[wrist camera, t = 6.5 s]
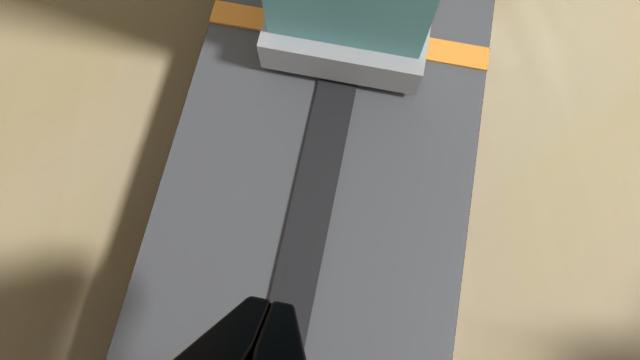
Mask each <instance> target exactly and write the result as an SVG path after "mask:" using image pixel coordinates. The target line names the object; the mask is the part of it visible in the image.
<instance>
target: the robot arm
mask: <svg viewBox="0 0 640 360" xmlns="http://www.w3.org/2000/svg"><path fill="white" fill-rule="evenodd" d="M173 360H307V359H306V355H305V350H304V346H303V341H302V337H301V332H300V328H299V323H298V318H297V314H296V309H295V307H294V305H292V304H289V303H284V302H279V301H273V302H272V303H271V301H270V300H269V299H265V298H260V297H255V296H249V297H247V298H246V299H245V300H244V301H242V302H241V303H240V304H239V305H238V306H236V307H235V308H234V309H233V310H232V311H230V312H229V313H228V314H227V315H226V316H224V317H223V318H222V319H221V320H220V321H218V322H217V323H216V324H215V325H214V326H212V327H211V328H210V329H209V330H208V331H206V332H205V333H204V334H203V335H202V336H200V337H199V338H198V339H197V340H196V341H194V342H193V343H192V344H191V345H189V346H188V347H187V348H186V349H185V350H183V351H182V352H181V353H180V354H179V355H177V356H176V357H175V358H174V359H173Z"/></svg>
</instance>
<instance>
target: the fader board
mask: <svg viewBox="0 0 640 360" xmlns="http://www.w3.org/2000/svg"><path fill="white" fill-rule="evenodd" d="M494 3H495V0H440V3H439V5H438V8H437V11H436V13H435V16H434V19H433V22H432V24H431V31H430V37H429V43H428V50H427V56H426V62H425V68H424V75H423V78H422V80H421V83H420V85H419V88H418V90H417V93H416V95H410V94H405V93H399V92H394V91H388V90H383V89H377V88H372V87H366V86H361V85H355V84H350V83H344V82H339V81H333V80H328V79H322V78H317V77H311V76H306V75H300V74H295V73H289V72H284V71H278V70H273V69H267V68H262V67H261V64H260V60H259V55H258V51H257V42H258V39H259V35H260V31H261V28H262V24H263V20H264V11H263V5H262V0H215V3H214V6H213V9H212V13H211V16H210V19H209V22H210V23H209V26H208V29H207V33H206V36H205V39H204V42H203V46H202V49H201V52H200V55H199V59H198V62H197V65H196V68H195V72H194V75H193V78H192V81H191V85H190V88H189V91H188V94H187V98H186V101H185V104H184V107H183V110H182V114H181V117H180V120H179V123H178V127H177V130H176V133H175V136H174V140H173V143H172V146H171V149H170V153H169V156H168V159H167V162H166V166H165V169H164V172H163V175H162V179H161V182H160V185H159V188H158V191H157V195H156V198H155V201H154V204H153V208H152V211H151V214H150V217H149V221H148V224H147V227H146V230H145V234H144V237H143V240H142V243H141V247H140V250H139V253H138V256H137V260H136V263H135V266H134V269H133V272H132V276H131V279H130V282H129V285H128V289H127V292H126V295H125V298H124V302H123V305H122V308H121V311H120V315H119V318H118V321H117V324H116V328H115V331H114V334H113V337H112V341H111V344H110V347H109V350H108V353H107V357H106V360H173V359H174V358H175V357H176V356H177V355H179V354H180V353H181V352H182V351H183V350H185V349H186V348H187V347H188V346H189V345H191V344H192V343H193V342H194V341H196V340H197V339H198V338H199V337H200V336H202V335H203V334H204V333H205V332H206V331H208V330H209V329H210V328H211V327H212V326H214V325H215V324H216V323H217V322H218V321H220V320H221V319H222V318H223V317H224V316H226V315H227V314H228V313H229V312H230V311H232V310H233V309H234V308H235V307H236V306H238V305H239V304H240V303H241V302H242V301H244V300H245V299H246V298H247V297H249V296H255V297H260V298H265V299H269V300H270V301H271V303H272V302H273V301H279V302H284V303H289V304H292V305H294V307H295V309H296V314H297V318H298V323H299V328H300V332H301V337H302V341H303V346H304V350H305V355H306V359H307V360H452V359H453V350H454V342H455V333H456V325H457V316H458V308H459V299H460V291H461V282H462V274H463V266H464V257H465V249H466V240H467V232H468V223H469V215H470V206H471V198H472V189H473V181H474V173H475V164H476V156H477V147H478V139H479V130H480V122H481V113H482V105H483V96H484V88H485V80H486V71H487V70H488V61H489V53H490V48H489V46H490V37H491V29H492V20H493V12H494Z"/></svg>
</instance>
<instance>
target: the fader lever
mask: <svg viewBox="0 0 640 360" xmlns="http://www.w3.org/2000/svg"><path fill="white" fill-rule="evenodd" d="M439 3H440V0H262V5H263V11H264V20H263V24H262V28H261V31H260V35H259V39H258V42H257V51H258V55H259V60H260V64H261V67H262V68H267V69H273V70H278V71H284V72H289V73H295V74H300V75H306V76H311V77H317V78H322V79H328V80H333V81H339V82H344V83H350V84H355V85H361V86H366V87H372V88H377V89H383V90H388V91H394V92H399V93H405V94H410V95H416V93H417V90H418V88H419V85H420V83H421V80H422V78H423V75H424V68H425V62H426V56H427V50H428V43H429V37H430V31H431V24H432V22H433V19H434V16H435V13H436V11H437V8H438V5H439Z"/></svg>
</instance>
